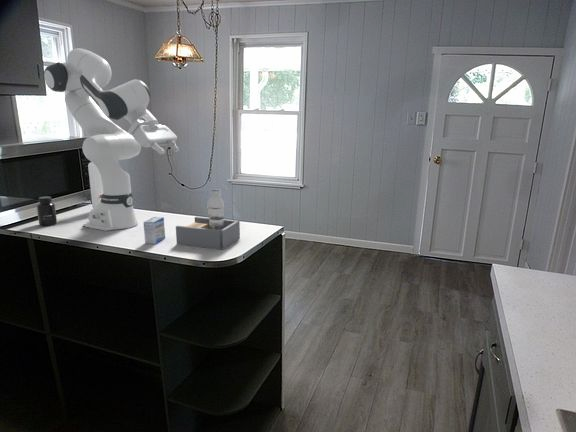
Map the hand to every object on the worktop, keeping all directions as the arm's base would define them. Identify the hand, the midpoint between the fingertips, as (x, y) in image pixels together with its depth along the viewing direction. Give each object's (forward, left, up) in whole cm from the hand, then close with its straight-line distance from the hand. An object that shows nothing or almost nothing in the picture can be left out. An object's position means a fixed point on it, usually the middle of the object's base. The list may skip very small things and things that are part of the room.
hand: (170, 151), depth 155 cm
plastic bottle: (+19, -2, -34) cm, 39 cm away
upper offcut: (+10, -2, -31) cm, 33 cm away
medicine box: (-4, -8, -34) cm, 35 cm away
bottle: (-56, +24, -34) cm, 69 cm away
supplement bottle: (-61, -3, -34) cm, 69 cm away
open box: (+16, -2, -33) cm, 37 cm away
